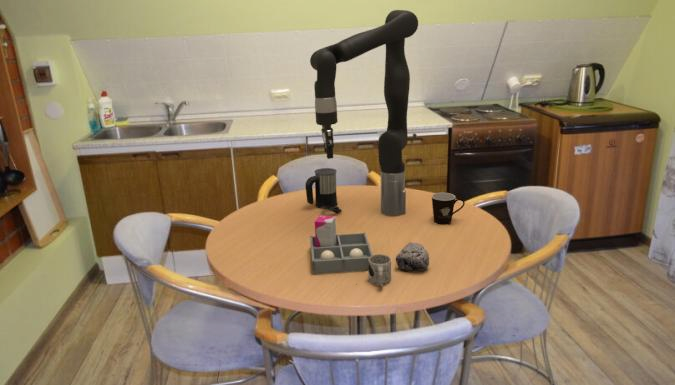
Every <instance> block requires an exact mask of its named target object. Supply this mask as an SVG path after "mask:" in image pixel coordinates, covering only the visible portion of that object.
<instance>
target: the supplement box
mask: <svg viewBox="0 0 675 385" xmlns="http://www.w3.org/2000/svg"><path fill="white" fill-rule="evenodd" d="M336 221H337V220H336V216H335V215H318V216H317V218H316V219H315V220H314V233H315V234H314V236H315V238H316V248H317V247H332V246H337V244H336V235H337V226H336V225H337V224H336Z"/></svg>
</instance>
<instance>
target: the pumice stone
mask: <svg viewBox="0 0 675 385" xmlns="http://www.w3.org/2000/svg"><path fill="white" fill-rule="evenodd" d="M395 262H396V265H397V266H398V267H399V268H400V269H401V270H403V271H406V272H414V271H426V270H427V269H428V267H429V265H430V257H429V252H428V251H427V249H426V248H425V247H424V246H423V244H421V243H419V242H412V241H409V242H408V243H407V244H406V245H404V247H403V248H402V249H401V251H400V252H398V254H396V256H395Z"/></svg>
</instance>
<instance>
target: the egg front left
mask: <svg viewBox="0 0 675 385" xmlns="http://www.w3.org/2000/svg"><path fill="white" fill-rule="evenodd" d="M349 257H350V258H360V257H363V252H362V251H361V250H360V249H358V248H355V249H352V250H351V251H350V254H349Z"/></svg>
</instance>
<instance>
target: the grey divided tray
mask: <svg viewBox="0 0 675 385" xmlns="http://www.w3.org/2000/svg"><path fill="white" fill-rule="evenodd" d="M309 238H310V239H309V240H310V242H309V243H310V253H311V265H312V266H311V267H312V274H313V275H321V274H336V273H350V272H351V273H352V272H365V271H366V272H367V271H368V259H369V257H370V256H372V255H374V254H373V250H372V247H371V245H370V243H369V239H368V236H367V234H366V232H359V233H357V232H354V233H342V234H341V233H340V234H338V233H337V234H336V244H337V246H332V247H317V248H316V238H315V235H310V237H309ZM355 248H358V249H360V250H361V251H362V252H363V257H360V258H350V257H349V254H350V251H351V250H352V249H355ZM326 250H329V251H332V252H333V254H334V257H335V258H334V259H331V260H321V254H322V252H324V251H326Z"/></svg>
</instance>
